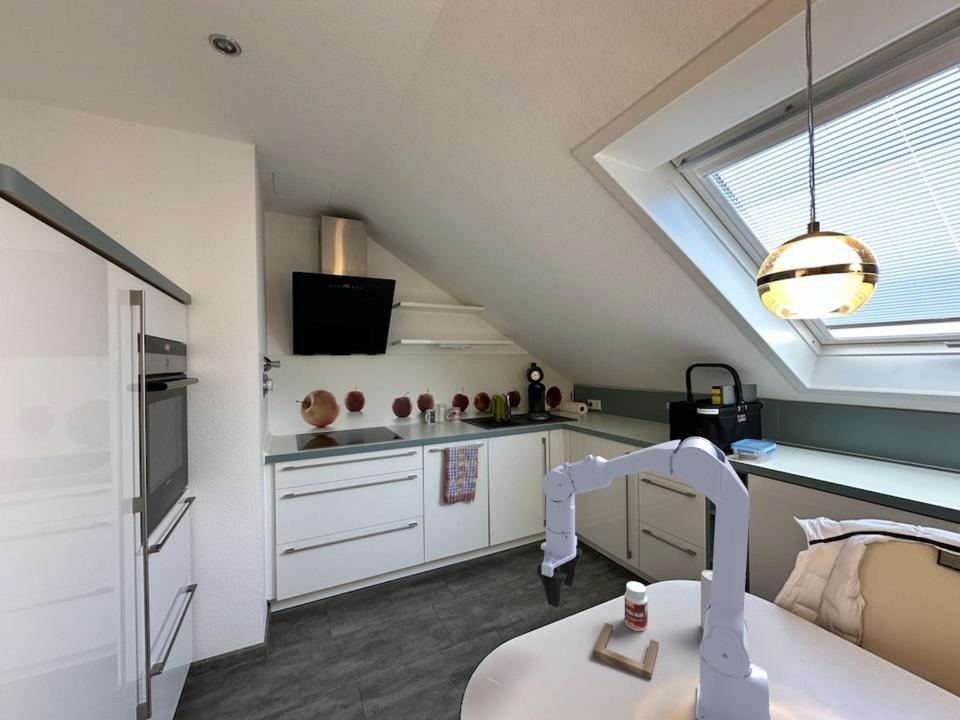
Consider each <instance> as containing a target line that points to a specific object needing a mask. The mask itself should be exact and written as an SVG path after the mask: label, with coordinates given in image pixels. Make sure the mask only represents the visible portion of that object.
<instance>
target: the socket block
mask: <svg viewBox="0 0 960 720" xmlns="http://www.w3.org/2000/svg"><path fill="white" fill-rule="evenodd" d="M613 627H614V625H612V624H611V623H608V622H605V623H604V625H603V627H602V629H601V632H600V635H599V636H598V638H597V641H596V643H595V645H594V647H593V649H592V652H593V658H595V659H596V660H599V661H603V662H606V663H608V664H610V665H613V666H616V667H618V668H621V669H623V670H627V671H629V672H630V673H631V672H632V673H633V674H635V675H639V676H642V677H645V678H647V679H650V680H652V679H653V675H654V671H655V665H656V662H657V657H658V653H659V646H660V645H659V644H660V643H659V641H657V640H654V639H651V638H650V640H649V644H648V647H647V650H646V651H647V652H646V656H645V659H644V663H643V662H640V661H638V660H635V659H632V658H630V657H627V656H625V655H622V654H620V653H617V652H616V651H612V650H610V649H607V647H608V645H609V642H610V640H611V638H612V635H613V631H614V629H613Z"/></svg>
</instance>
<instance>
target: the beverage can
mask: <svg viewBox="0 0 960 720" xmlns="http://www.w3.org/2000/svg"><path fill="white" fill-rule="evenodd" d="M712 573H713V569H712V570H711V569H705V570H702V571H701V575H700V627H701V629H702V631H704V621H705V620H704V611H705V609H706V607H707V606H708V605H709V603H710V601H711V592H712Z"/></svg>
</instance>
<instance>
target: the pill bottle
mask: <svg viewBox="0 0 960 720" xmlns="http://www.w3.org/2000/svg"><path fill="white" fill-rule="evenodd" d="M646 588H647V587H646V586H645V585H644V584H643V583H641V582H638V581H632V580H631V581H628V582H627V583H626V586H625V590H626V591H625V592H624V623H625V625H626V627H628V628H629V629H631V630H633V631H635V632H643V631H646V630H647V629H648V626H649V625H648V624H649V623H648V617H649V615H648V613H649V611H648V608H649V604H648V603H649V600H648V596H647V589H646Z"/></svg>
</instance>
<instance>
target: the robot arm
mask: <svg viewBox="0 0 960 720" xmlns="http://www.w3.org/2000/svg"><path fill="white" fill-rule="evenodd" d="M652 470H656V471H657V472H659V473H661V474H663V475H666V476H668V477H672V475H673V472H674V474H675V475H676V477H677V478H678V479H679V480H680V481H681V482H683V483H684V484H686V485H688V486H689V487H690V488H691V487H692V488H693V489H694V490H697V491H699V492H701V493H703V494H704V495H705V497H706V498H708V499H709V500H710V501H711V502H712V503H713V504H714V505H715V517H714V519H715V520H714V537H713V538H714V540H713V554H712V555H713V556H712V557H713V558H712V559H713V560H712V571H713V573H712V592H711V601H710V603H709V605H708V606H707V607H706V609H705V611H704V620H705V621H704V630H703V635H702V639H701V643H700V644H699V681H698V682H697V691H696V693H697V694H696V702H695V703H696V705H695V706H696V707H695V719H696V720H771V719H772V718H771V710H770V693H769V690H770V689H769V678H768V671H767V670H765V669H764V668H762V667H760V666H758V665H756V664H755V663H753V661H752V660H751V657H750V655H749V643H748V624H747V623H748V622H747V620H746V619H745V615H744V613H745V612H744V611H745V595H746V577H747V575H746V573H747V562H748V561H747V557H748V541H749V538H748V537H749V525H750V524H749V523H750V520H749V519H750V506H751V502H750V494H749V491H748V489H747V487H746V486H745V484H744V483H743V481H742V480H741V479H740V477H739V475H738V474H737V472H736V471H735V470H734V468H733V466H732V464H731V463H730V462H729V460H728V458H727V456H726V454H725V453H724V452H723V450H721V449H720V448H718V446H716V445H715V444H713V443H712V442H711V441H710V440H708V439H706V438H705V437H704V438H703V437H701V436H690V437H688V438H687V437H686V439H684V440H683V441H681V439H675V440H670V441H666V442H663V443H659V444H655V445H652V446H648V447H646V448H645V447H644V448H642V449H640V450H636V451H633V452H629V453H628V454H624V455H621V456H617V457H614V458H612V459H605V458H604V457H602V456H599V455H596V456H593V454H587V455H586V456H584V457H583V460H579V461H575V462H572V463H570V462H568V461H567V462H565V463H562V465H557V466H555V467H554V468H553V469H552V470H550V471H548V472H547V473H546V474H544V476H543V477H542V479H541V489H542V491H543V493H544V494H545V495H544V496H545V499H546V500H545V520H546V521H545V529H546V530H545V531H546V532H545V533H546V534H545V537H546V538H545V539H546V540H545V542H543V543H541V544H540V549H541V550H542V551H544V556H543V561H542V563H540V564H539V565H538V566H537V567H536V575H538V577H539V579H540V581H541V583H542V586H543V589H544V592H545V598H546V601H547V604H548V605H550V606H553V607H556V608H558V607H559V606H560V604H561V599H562V592H563V591H562V590H563V586H568V587H570V588H572V587H573V585H574V581H575V577H576V571H577V568H578V565H579V561H580V559H581V558H582V555H583V553H584V552H583V550H582V549H581V548H577V545H578V535H576V504H575V503H576V502H575V501H576V500H575V499H576V498H575V496H576V495H575V494H583V493H587V492H590V491H591V492H592V491H595V490H598V489H602V488H603V489H604V488H608V487H610V485H611V484H612V481H613V479H614V478H619V477H623V476H627V475H632V474H637V473H641V472H647V471H652ZM558 567H559V568H558Z"/></svg>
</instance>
